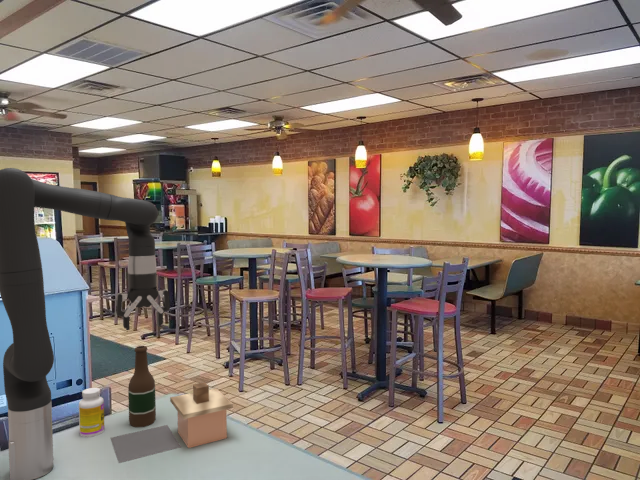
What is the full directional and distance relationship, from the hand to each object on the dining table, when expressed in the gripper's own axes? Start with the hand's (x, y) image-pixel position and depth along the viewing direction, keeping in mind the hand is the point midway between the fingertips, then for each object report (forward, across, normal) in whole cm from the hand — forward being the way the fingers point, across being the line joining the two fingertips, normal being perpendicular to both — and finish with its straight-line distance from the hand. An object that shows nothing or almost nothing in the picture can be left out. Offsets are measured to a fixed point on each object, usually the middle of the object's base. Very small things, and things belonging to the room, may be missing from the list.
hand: (143, 327), depth 134 cm
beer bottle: (+32, +1, +10) cm, 34 cm away
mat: (+32, -1, -4) cm, 32 cm away
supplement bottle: (+32, -13, +11) cm, 37 cm away
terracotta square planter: (+32, +14, -8) cm, 36 cm away
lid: (+23, +14, -8) cm, 28 cm away
